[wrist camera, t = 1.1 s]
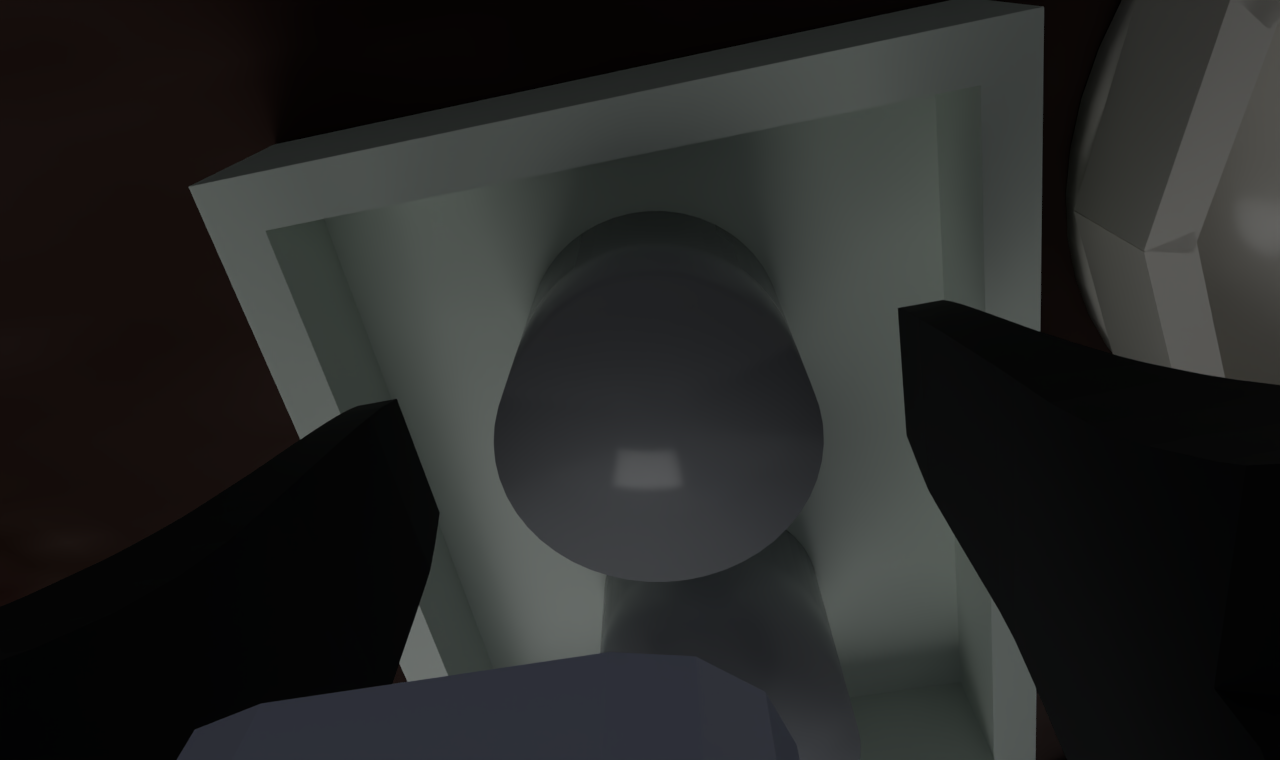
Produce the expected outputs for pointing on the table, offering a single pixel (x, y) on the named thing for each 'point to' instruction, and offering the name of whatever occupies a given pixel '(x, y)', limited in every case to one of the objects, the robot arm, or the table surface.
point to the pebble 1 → (657, 404)
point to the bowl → (1182, 187)
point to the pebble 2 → (749, 638)
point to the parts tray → (769, 227)
